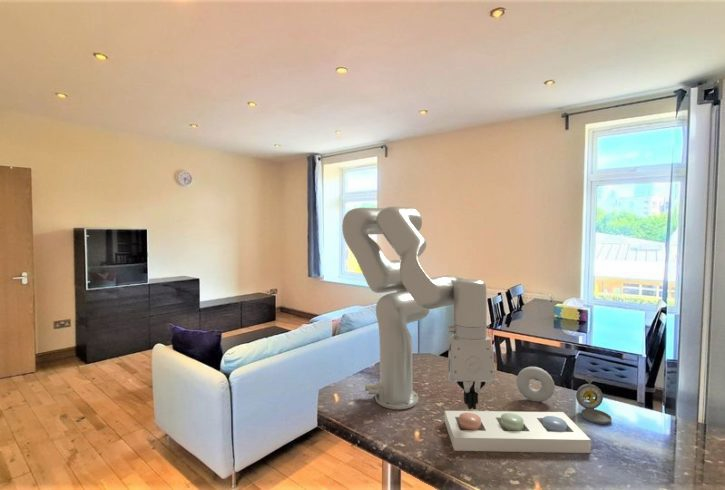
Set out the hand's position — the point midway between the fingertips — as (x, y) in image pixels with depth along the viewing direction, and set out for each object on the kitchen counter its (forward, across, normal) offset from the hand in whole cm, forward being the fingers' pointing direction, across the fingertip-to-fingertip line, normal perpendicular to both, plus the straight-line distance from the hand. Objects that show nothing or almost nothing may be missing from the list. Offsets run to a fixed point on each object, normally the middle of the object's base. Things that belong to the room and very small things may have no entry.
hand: (470, 406), depth 86 cm
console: (+7, +10, 0) cm, 12 cm away
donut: (+8, +23, +18) cm, 30 cm away
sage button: (+5, +10, 0) cm, 11 cm away
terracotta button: (+5, 0, 0) cm, 5 cm away
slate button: (+6, +20, 0) cm, 21 cm away
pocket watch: (+8, +35, +10) cm, 37 cm away
